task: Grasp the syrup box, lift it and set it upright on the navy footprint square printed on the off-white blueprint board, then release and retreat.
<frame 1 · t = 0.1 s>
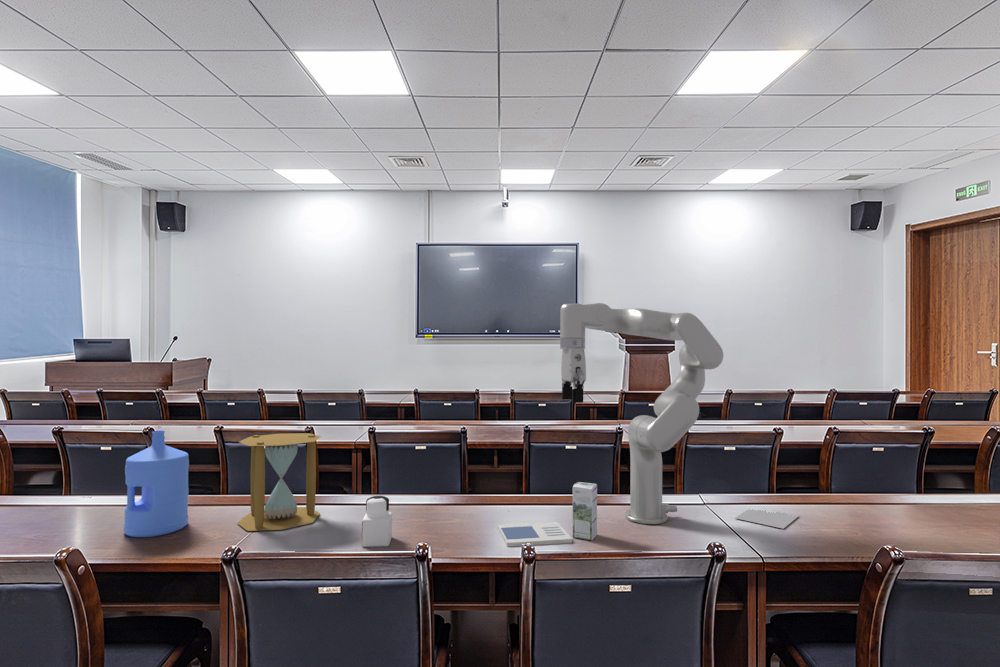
hand: (572, 400, 164), 37 cm above the table, tool pointing down, fingers open, 9 cm apart
hourglass: (280, 520, 164), on the table
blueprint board: (533, 535, 152), on the table
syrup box: (584, 537, 151), on the table
paper stack: (779, 526, 162), on the table
water jug: (156, 529, 156), on the table
medicine bottle: (377, 542, 146), on the table
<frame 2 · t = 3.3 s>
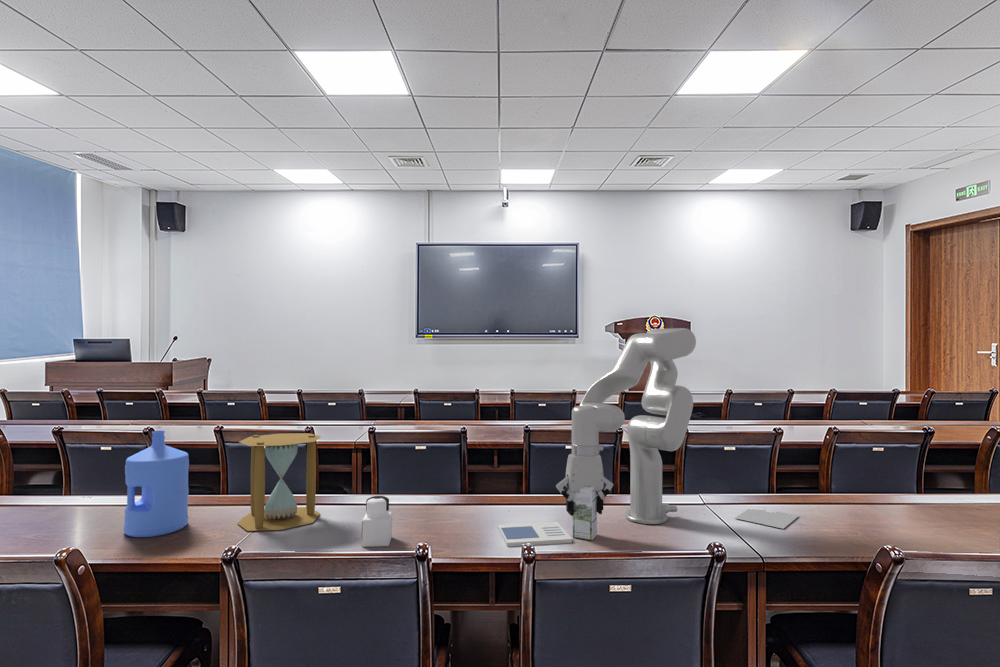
hand: (584, 513, 151), 6 cm above the table, tool pointing down, fingers closed on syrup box, 7 cm apart
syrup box: (584, 537, 151), on the table, touching gripper
everything else where it was.
when the fingers open (9 cm above the table, at t = 10.0 s): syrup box drops 1 cm, resting on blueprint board.
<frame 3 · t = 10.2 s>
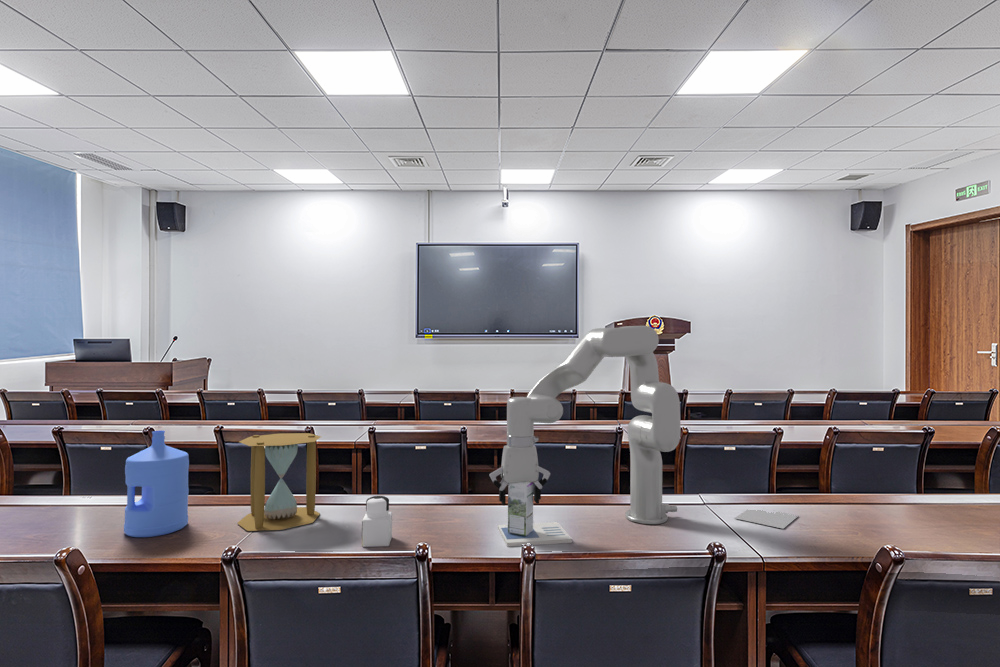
hand: (519, 503, 151), 9 cm above the table, tool pointing down, fingers open, 9 cm apart
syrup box: (520, 532, 151), point 1 cm above the table, touching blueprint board
everything else where it was.
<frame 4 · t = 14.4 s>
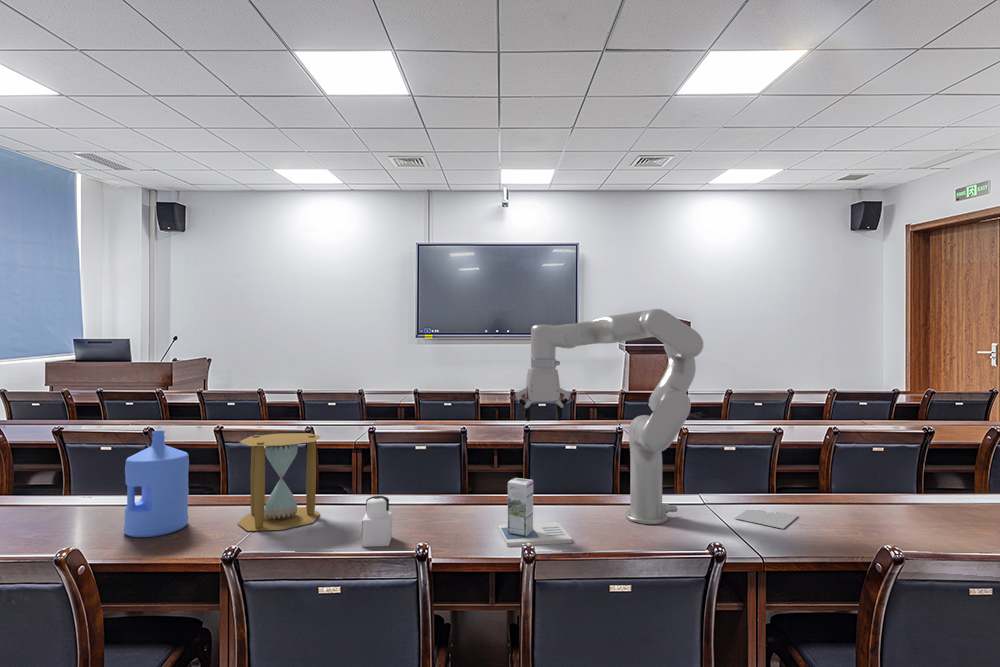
hand: (542, 420, 166), 30 cm above the table, tool pointing down, fingers open, 9 cm apart
nothing on the table moved.
at the end: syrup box 0.2 cm from the target spot on the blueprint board, point 0.9 cm above the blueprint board's base; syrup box tilted 0°; the gripper is holding nothing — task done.
